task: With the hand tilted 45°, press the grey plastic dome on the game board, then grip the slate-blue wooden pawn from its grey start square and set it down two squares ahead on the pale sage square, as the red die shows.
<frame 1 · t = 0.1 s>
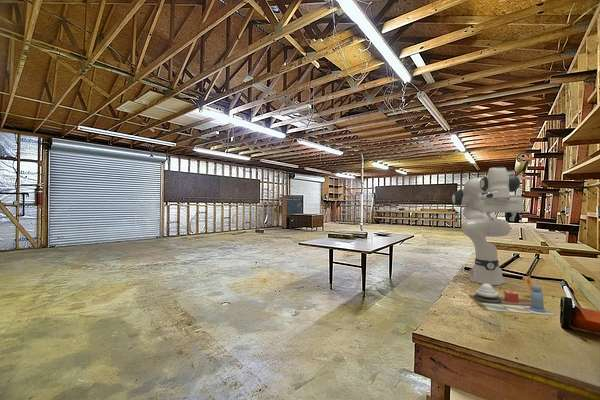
hand: (501, 220, 144), 39 cm above the table, tool pointing down, fingers open, 8 cm apart
figurine: (532, 300, 132), on the table
dome: (487, 289, 130), point 7 cm above the table, slide at 0.0 cm
game board: (506, 307, 123), on the table
red die: (511, 301, 127), resting on game board
pawn: (537, 310, 115), point 2 cm above the table, touching game board
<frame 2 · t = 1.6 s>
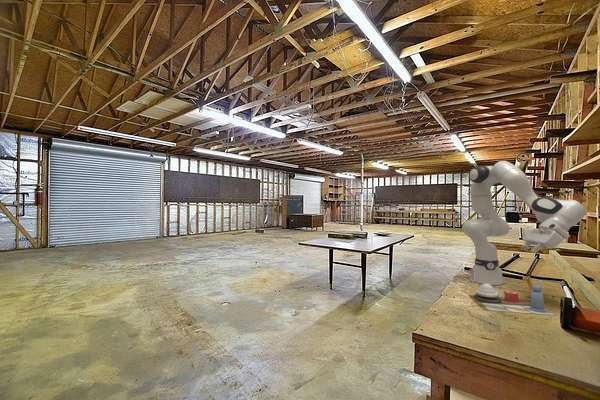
hand: (527, 250, 126), 26 cm above the table, tool tilted 45°, fingers open, 7 cm apart
nothing on the table moved.
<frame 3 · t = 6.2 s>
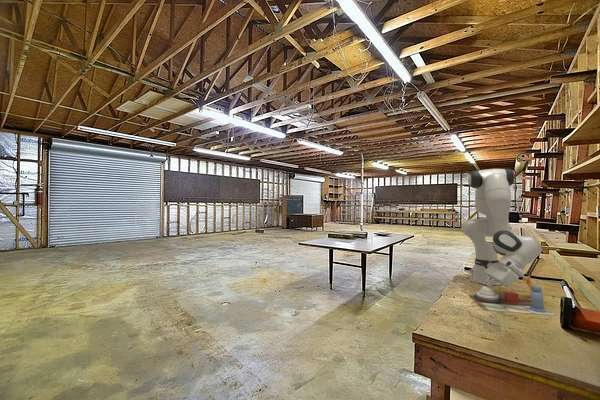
hand: (486, 285, 130), 8 cm above the table, tool tilted 45°, fingers closed, pressing on dome
dome: (487, 291, 130), point 5 cm above the table, slide at 1.2 cm, touching gripper
everything else where it was.
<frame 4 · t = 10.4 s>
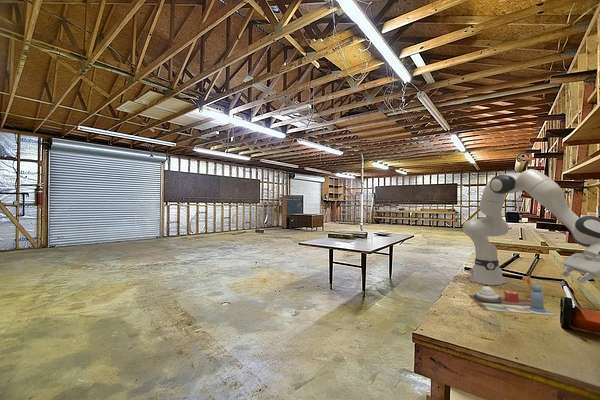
hand: (571, 278, 112), 16 cm above the table, tool tilted 45°, fingers open, 8 cm apart
dome: (487, 291, 130), point 5 cm above the table, slide at 1.3 cm
everything else where it was.
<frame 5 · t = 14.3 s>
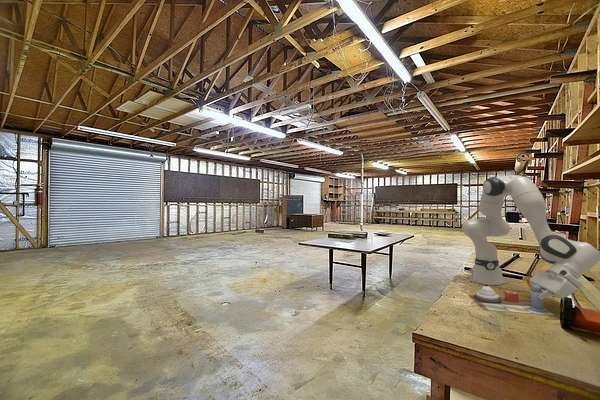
hand: (535, 296, 116), 7 cm above the table, tool tilted 45°, fingers closed on pawn, 4 cm apart
pawn: (537, 310, 115), point 2 cm above the table, touching game board, gripper
everything else where it was.
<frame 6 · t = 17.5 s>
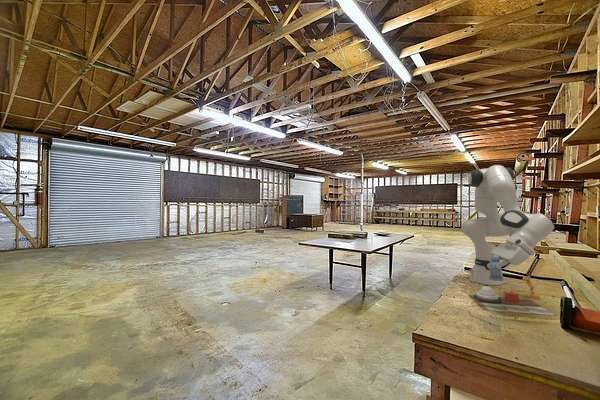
hand: (493, 266, 120), 20 cm above the table, tool tilted 45°, fingers closed on pawn, 4 cm apart
pawn: (496, 279, 120), point 14 cm above the table, touching gripper
everything else where it was.
when the fingers open (9 cm above the table, at t = 20.6 s): pawn drops 1 cm, resting on game board.
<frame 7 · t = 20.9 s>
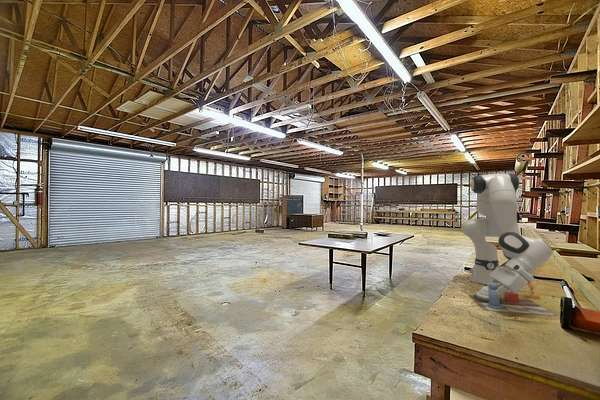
hand: (492, 290, 120), 9 cm above the table, tool tilted 45°, fingers open, 7 cm apart
pawn: (494, 306, 120), point 2 cm above the table, touching game board
everything else where it was.
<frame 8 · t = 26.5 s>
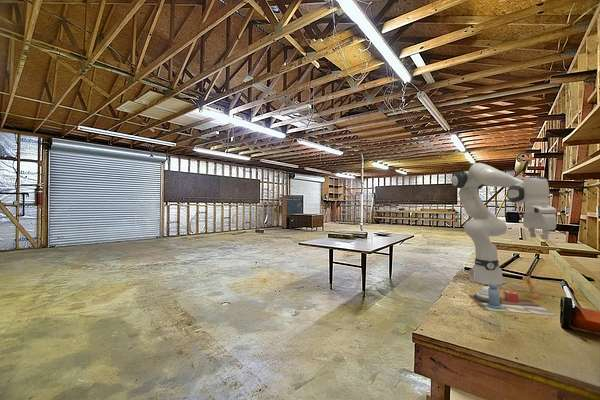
hand: (538, 238, 128), 31 cm above the table, tool pointing down, fingers open, 8 cm apart
nothing on the table moved.
at the end: pawn inside the target area (0.1 cm from its centre), point 1.6 cm above the table; pawn tilted 1°; dome slide at 1.3 cm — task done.
